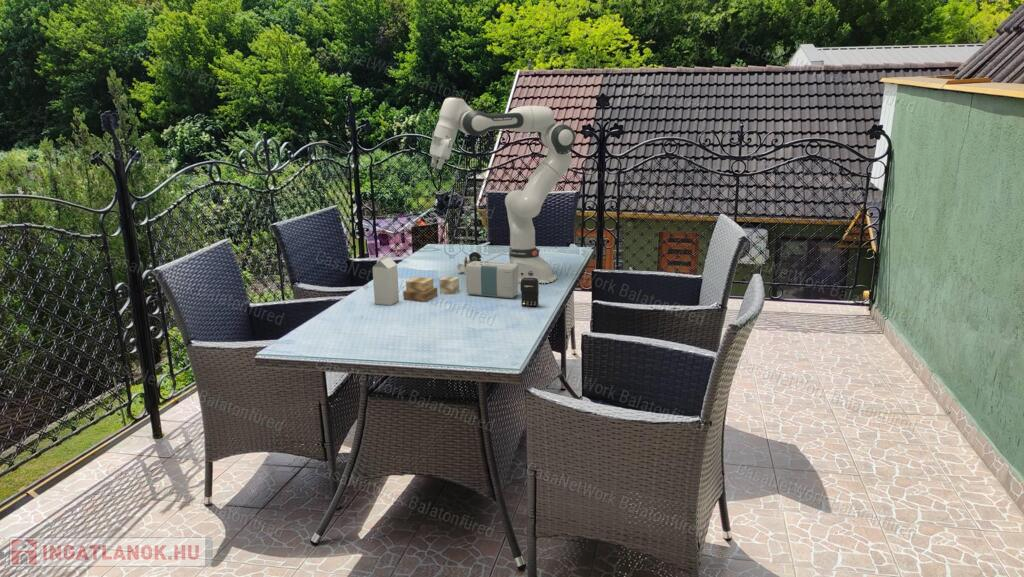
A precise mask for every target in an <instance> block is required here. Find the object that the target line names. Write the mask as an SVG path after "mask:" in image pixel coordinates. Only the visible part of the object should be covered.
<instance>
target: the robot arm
mask: <svg viewBox="0 0 1024 577" xmlns="http://www.w3.org/2000/svg"><path fill="white" fill-rule="evenodd" d="M438 115H439V116H438V118H439V119H438V121H437V123H436V126H435V128H434V130H433V131H432V134H431V137H432V140H431V142H430V143H431V144H430V149H429V155H431V164H430V167H432V168H436V169H437V170H442V168H443V165H444V164H445V160H447V161H449V160H450V157H451V153H452V150H453V146H454V144H453V143H455V140H456V137H457V133H458V130H459V131H460V132H462V133H463V134H466V135H471V136H473V137H479V136H482V135H485V134H487V133H488V132H490V131H496V130H498V131H499V130H511V131H513V132H516V133H537V134H538V139H539V141H540V143H541V145H543V147H544V148H546V149H548V153H547V156H546V157H545V158H544V159H543V160H542V162H540V164H539V165H538V166H537V167H536V169H534V171H533V172H532V173H531V174H530V176H529V179H528V181H527V182H526V185H525V186H524V188H523V190H521V189H515V190H512V191H510V192H509V193H507V195H505V198H504V204H505V207H506V212H507V213H506V214H507V220H508V225H509V226H508V227H509V242H510V243H509V250H510V251H509V250H508V252H509V253H508V254H509V255H508V256H509V264H518V284H521V280H522V278H523V277H536V278H538V280H539V283H542V284H541V285H544V284H545V283H548V284H550V283H549V282H552V283H554V282H555V281H557V280H558V275H556V274H553V271H552V270H553V269H552V266H551V264H550V263H549V262H548V261H546V260H545V259H544V258H543V257H541V255H540V252H541V251H540V250H541V248H537V247H536V230H535V226H534V223H533V219H534V218H535V217H537V216H538V215H539V214H540V212H541V210H542V206H543V204H544V202H545V200H546V198H547V197H548V195H549V194H550V192H551V190H553V188H554V187H555V186H556V185H557V184H558V183H559V181H560V180H561V179H562V178H563V177H564V175H565V174H566V173H567V171H568V170H569V168H570V166H571V164H572V163H573V162H572V161H573V157H572V155H571V153H570V152H572V149H573V146H574V143H575V140H576V133H575V131H574V129H573V127H571V126H570V125H568V124H564V123H557V122H556V121H555V115H554V112H553V109H552V108H551V107H550V106H549V107H548V106H545V105H523V106H518V107H514V108H512V109H511V110H510V111H508V112H504V113H503V112H502V113H486V112H484V111H482V110H477V109H476V110H473V109H472V108H471V107H470V106H469V105H468V104H467V103H466V101H465V100H464V98H463V97H456V96H448V97H446V98H445V99H444V100H443V103H442V106H441V108H440V111H439V114H438ZM437 161H438V163H437ZM513 248H515V249H513ZM511 249H512V250H511ZM556 279H557V280H556ZM554 280H555V281H554ZM553 281H554V282H553ZM543 283H544V284H543ZM545 285H546V284H545Z"/></svg>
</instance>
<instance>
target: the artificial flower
mask: <svg viewBox="0 0 1024 577" xmlns="http://www.w3.org/2000/svg"><path fill="white" fill-rule="evenodd" d="M468 256H469V257H467V256H465V257H464V260H463V263H464V264H463V263H458V264H457V265H456V269H457V270H458V271H459V272H461V273H464V274H465V275H466V265H467V264H469V263H470V262H473V261H481V262H482V255H481V254H480V253H479V252H476V251H472V252H470V254H469V255H468Z"/></svg>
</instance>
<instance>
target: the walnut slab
mask: <svg viewBox="0 0 1024 577" xmlns="http://www.w3.org/2000/svg"><path fill="white" fill-rule="evenodd" d="M402 292H403V301H410V302H418V303H419V302H420V303H427V302H429V301H430V300H432V299H435V298H437V297H438V287H435V286H434V288H433V289H431V290H429V291H427V292H424V293H421V292H411V291H406V289H405V290H403V291H402ZM436 296H437V297H436ZM434 297H435V298H434Z"/></svg>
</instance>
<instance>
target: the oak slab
mask: <svg viewBox="0 0 1024 577" xmlns="http://www.w3.org/2000/svg"><path fill="white" fill-rule="evenodd" d="M405 287H406V289H405V290H406V291H411V292H421V293H424V292H427V291H429V290H431V289H433V288H434V287H435V286H434V278H430V277H422V276H414V277H413V278H411V279H408V280H406V281H405Z"/></svg>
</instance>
